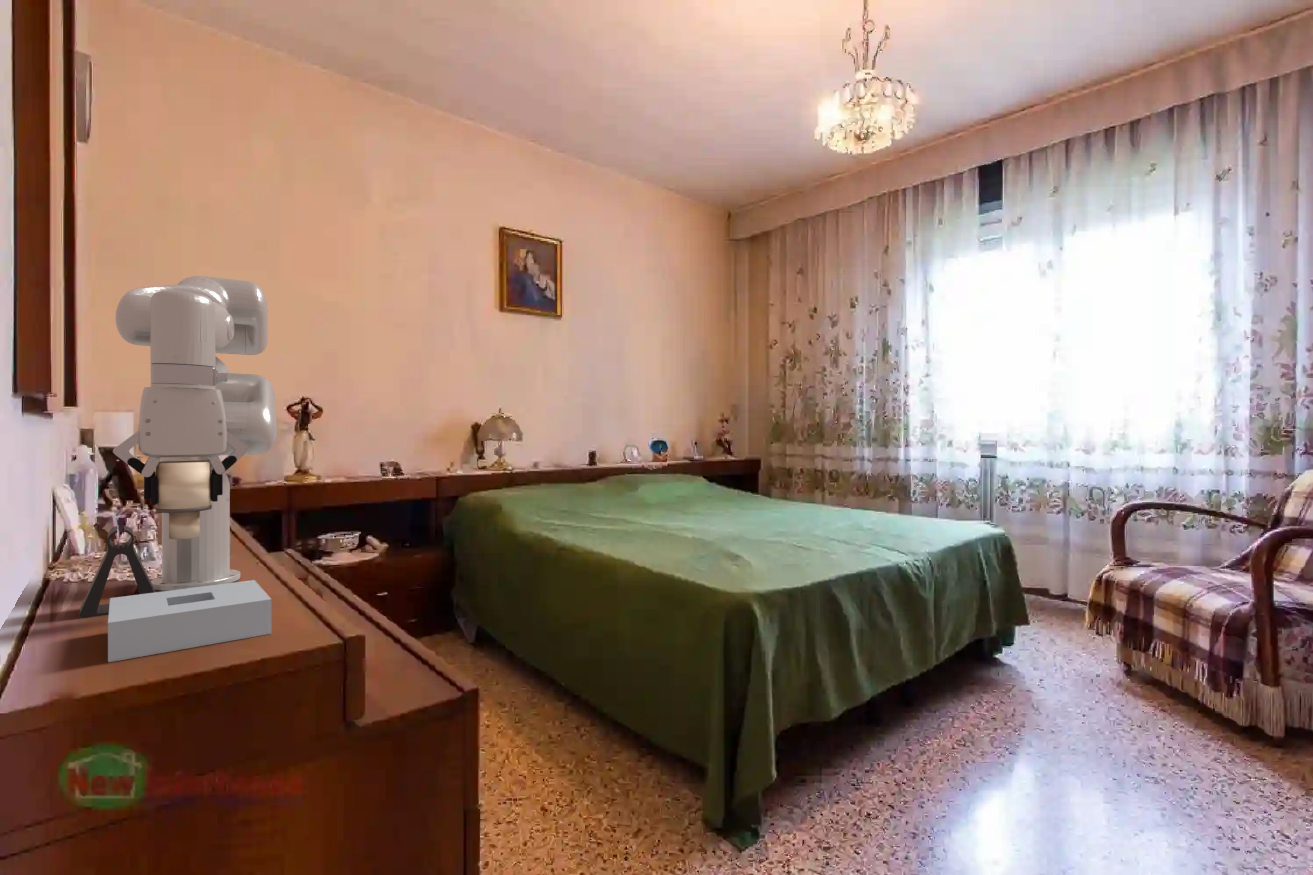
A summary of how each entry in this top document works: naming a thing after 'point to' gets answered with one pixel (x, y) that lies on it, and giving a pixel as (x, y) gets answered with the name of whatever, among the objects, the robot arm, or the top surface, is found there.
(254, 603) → the gray rectangular block
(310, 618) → the top surface
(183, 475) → the beech peg
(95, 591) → the dark grey a-shaped piece
